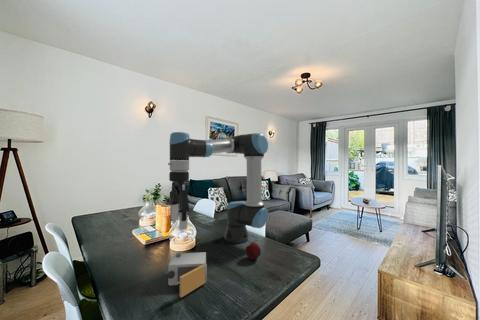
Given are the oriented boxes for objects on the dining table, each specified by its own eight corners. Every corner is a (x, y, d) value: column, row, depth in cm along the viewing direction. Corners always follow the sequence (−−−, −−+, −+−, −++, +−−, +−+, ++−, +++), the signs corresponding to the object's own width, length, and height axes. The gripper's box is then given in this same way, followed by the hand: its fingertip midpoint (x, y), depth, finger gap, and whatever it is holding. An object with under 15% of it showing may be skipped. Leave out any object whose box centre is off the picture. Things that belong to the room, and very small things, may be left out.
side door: (205, 280, 82) (205, 263, 82) (207, 281, 81) (207, 264, 81) (179, 296, 73) (179, 276, 73) (181, 297, 72) (181, 277, 72)
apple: (252, 253, 108) (252, 238, 108) (264, 259, 102) (264, 243, 102) (242, 258, 103) (242, 242, 103) (254, 264, 97) (254, 247, 97)
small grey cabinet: (205, 269, 92) (205, 250, 92) (204, 285, 81) (204, 262, 81) (173, 271, 90) (173, 251, 90) (167, 287, 79) (167, 264, 79)
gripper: (163, 169, 91) (163, 217, 91) (177, 173, 69) (176, 235, 69) (180, 169, 95) (180, 215, 95) (198, 172, 73) (197, 232, 73)
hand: (178, 224), depth 82 cm, fingers open, 13 cm apart
